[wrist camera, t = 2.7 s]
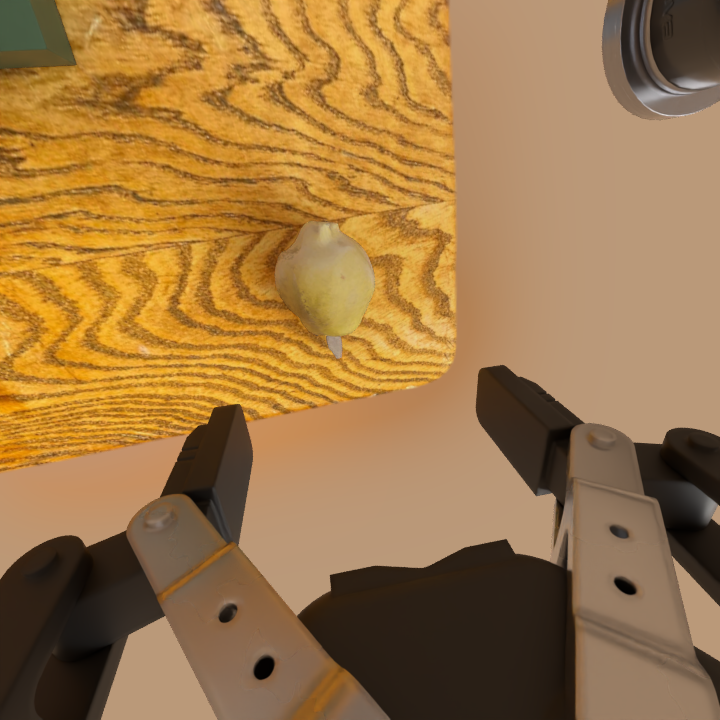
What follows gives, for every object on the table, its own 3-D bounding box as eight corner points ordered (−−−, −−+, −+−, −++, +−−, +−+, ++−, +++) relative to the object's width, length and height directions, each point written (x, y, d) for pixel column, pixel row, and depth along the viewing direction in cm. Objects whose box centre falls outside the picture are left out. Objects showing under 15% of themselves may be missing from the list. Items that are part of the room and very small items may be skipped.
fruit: (298, 359, 27) (249, 229, 21) (366, 329, 29) (337, 199, 23) (327, 400, 23) (274, 249, 17) (405, 361, 24) (381, 210, 19)
